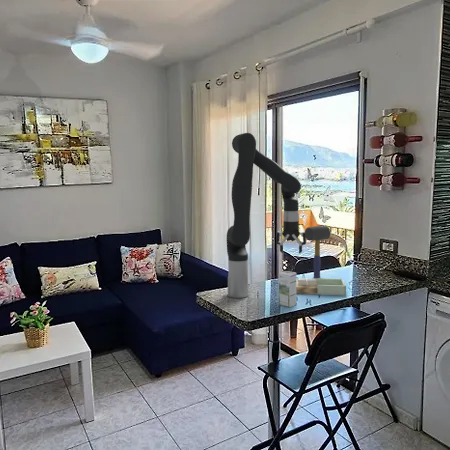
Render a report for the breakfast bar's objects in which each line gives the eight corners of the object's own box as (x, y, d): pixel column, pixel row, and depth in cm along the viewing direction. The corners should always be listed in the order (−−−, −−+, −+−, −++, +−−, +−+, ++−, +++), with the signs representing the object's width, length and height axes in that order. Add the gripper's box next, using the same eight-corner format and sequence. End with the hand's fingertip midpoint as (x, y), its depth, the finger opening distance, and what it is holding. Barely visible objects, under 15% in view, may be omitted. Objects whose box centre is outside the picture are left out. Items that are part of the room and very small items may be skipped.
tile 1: (298, 284, 206) (298, 279, 206) (298, 282, 210) (298, 277, 210) (306, 285, 205) (306, 280, 205) (306, 283, 209) (306, 278, 209)
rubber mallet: (311, 285, 215) (312, 227, 212) (302, 282, 222) (303, 226, 219) (330, 282, 221) (331, 225, 218) (321, 279, 228) (322, 224, 224)
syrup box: (296, 304, 185) (297, 272, 183) (289, 307, 181) (289, 274, 179) (285, 302, 189) (286, 270, 187) (278, 305, 184) (278, 272, 183)
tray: (317, 294, 200) (317, 285, 200) (315, 286, 214) (315, 278, 213) (345, 295, 198) (346, 286, 198) (342, 287, 212) (342, 278, 211)
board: (291, 293, 203) (291, 286, 203) (291, 286, 215) (291, 280, 214) (317, 293, 201) (317, 287, 201) (315, 287, 213) (316, 281, 213)
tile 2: (307, 285, 205) (307, 280, 205) (307, 283, 209) (307, 278, 209) (315, 285, 205) (316, 280, 204) (315, 283, 209) (315, 278, 208)
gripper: (275, 220, 203) (275, 254, 205) (305, 221, 200) (305, 254, 202) (277, 219, 210) (277, 251, 212) (306, 219, 207) (306, 251, 209)
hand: (291, 252), depth 207 cm, fingers open, 8 cm apart
